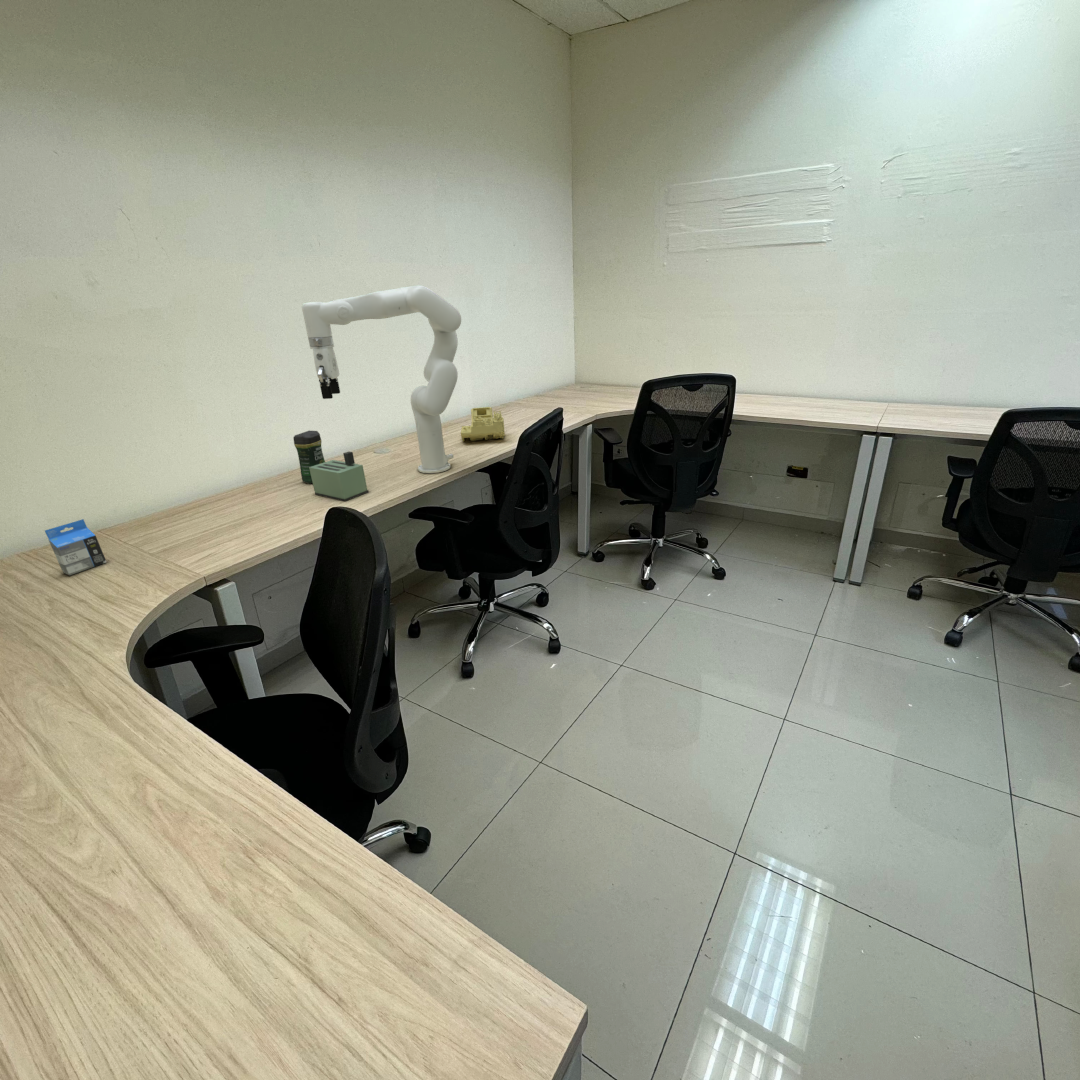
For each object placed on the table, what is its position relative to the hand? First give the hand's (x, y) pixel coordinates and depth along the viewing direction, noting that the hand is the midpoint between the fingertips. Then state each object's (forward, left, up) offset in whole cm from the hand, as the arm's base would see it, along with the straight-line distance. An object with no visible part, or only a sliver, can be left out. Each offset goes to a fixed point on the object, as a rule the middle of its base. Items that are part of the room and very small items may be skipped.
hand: (331, 396), depth 188 cm
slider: (+4, +7, -22) cm, 24 cm away
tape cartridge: (+79, -13, -33) cm, 86 cm away
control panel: (-75, +2, -33) cm, 82 cm away
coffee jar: (+1, -19, -33) cm, 38 cm away
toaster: (+7, +3, -33) cm, 33 cm away
